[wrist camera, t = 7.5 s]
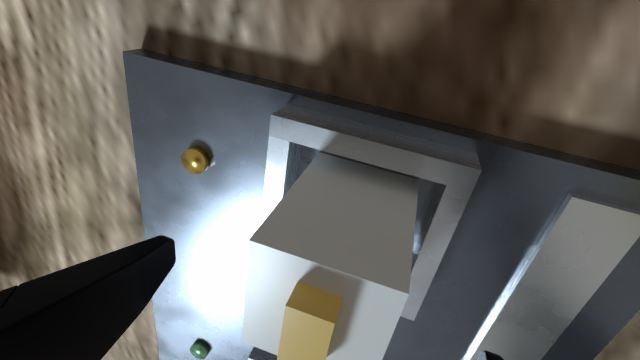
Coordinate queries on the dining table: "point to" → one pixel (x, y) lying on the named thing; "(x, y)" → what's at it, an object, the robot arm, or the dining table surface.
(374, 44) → the dining table surface
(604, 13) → the dining table surface
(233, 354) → the panel
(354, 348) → the plug
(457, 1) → the dining table surface
